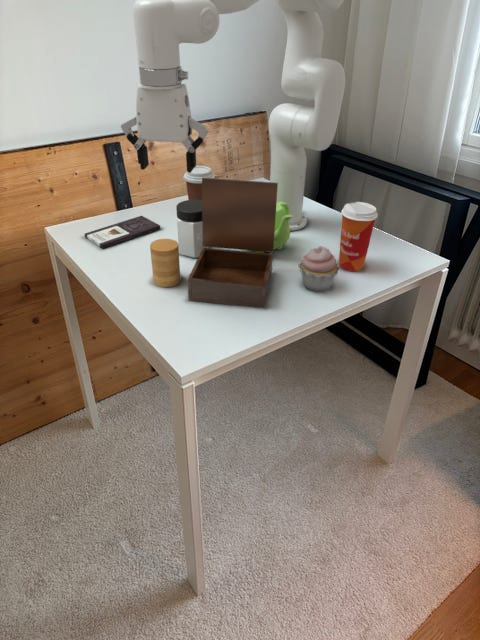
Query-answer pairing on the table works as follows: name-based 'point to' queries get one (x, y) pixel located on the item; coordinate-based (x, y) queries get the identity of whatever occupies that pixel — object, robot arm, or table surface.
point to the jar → (190, 228)
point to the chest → (231, 277)
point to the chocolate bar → (122, 231)
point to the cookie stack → (165, 262)
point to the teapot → (281, 226)
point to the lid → (239, 214)
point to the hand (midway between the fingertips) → (167, 168)
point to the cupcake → (318, 269)
